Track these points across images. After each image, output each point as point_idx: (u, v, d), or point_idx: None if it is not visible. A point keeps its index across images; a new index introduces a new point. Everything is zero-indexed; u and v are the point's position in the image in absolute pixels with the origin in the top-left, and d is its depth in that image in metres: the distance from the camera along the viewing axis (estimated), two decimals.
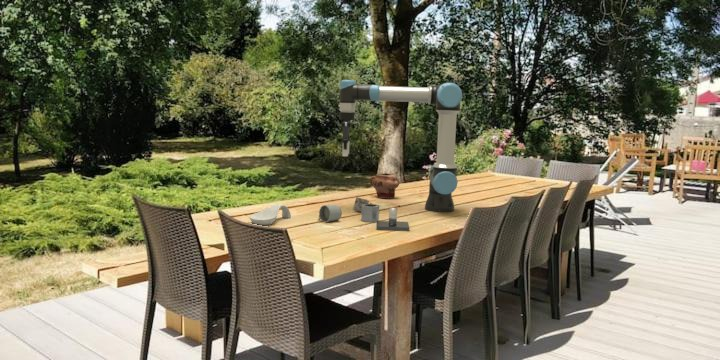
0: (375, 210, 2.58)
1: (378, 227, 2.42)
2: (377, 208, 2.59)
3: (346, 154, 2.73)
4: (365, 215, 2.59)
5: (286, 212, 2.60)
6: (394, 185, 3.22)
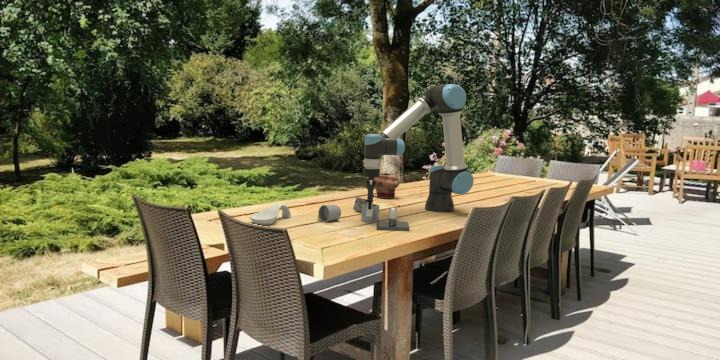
0: (375, 210, 2.58)
1: (378, 227, 2.42)
2: (377, 208, 2.59)
3: (370, 214, 2.54)
4: (365, 215, 2.59)
5: (286, 212, 2.61)
6: (394, 185, 3.22)
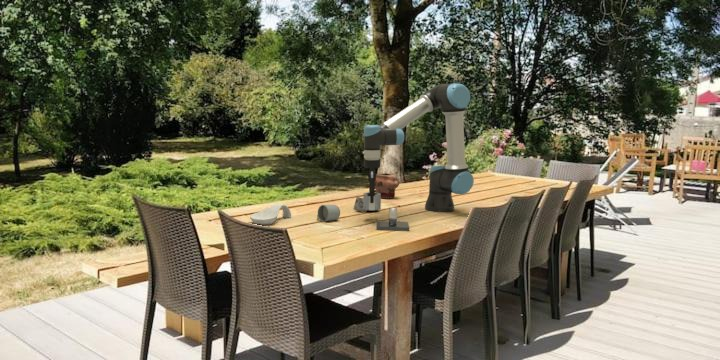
0: (377, 198, 2.58)
1: (378, 227, 2.42)
2: (379, 196, 2.59)
3: (373, 208, 2.57)
4: (367, 204, 2.58)
5: (287, 212, 2.61)
6: (394, 185, 3.22)
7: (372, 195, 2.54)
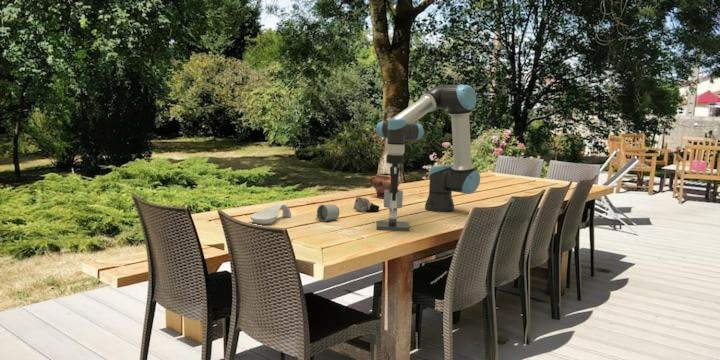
0: (399, 196, 2.43)
1: (378, 227, 2.42)
2: (401, 194, 2.44)
3: (395, 206, 2.42)
4: (388, 201, 2.43)
5: (287, 211, 2.62)
6: None
7: (394, 192, 2.39)
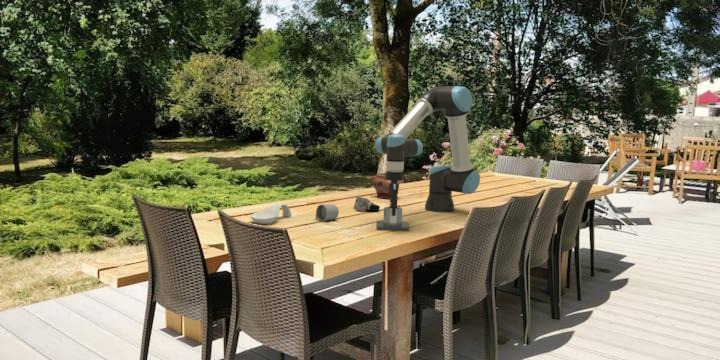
0: (398, 213, 2.44)
1: (378, 227, 2.42)
2: (400, 211, 2.45)
3: (394, 221, 2.41)
4: (388, 219, 2.44)
5: (287, 211, 2.63)
6: None
7: (394, 207, 2.38)
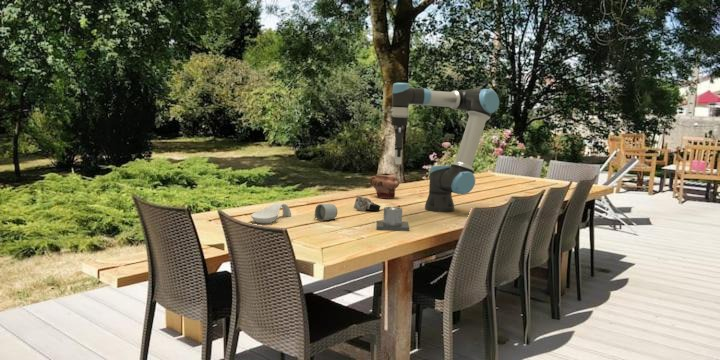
0: (398, 213, 2.44)
1: (378, 227, 2.42)
2: (400, 211, 2.45)
3: (400, 162, 2.56)
4: (388, 219, 2.44)
5: (287, 211, 2.64)
6: (394, 185, 3.22)
7: (399, 148, 2.53)
